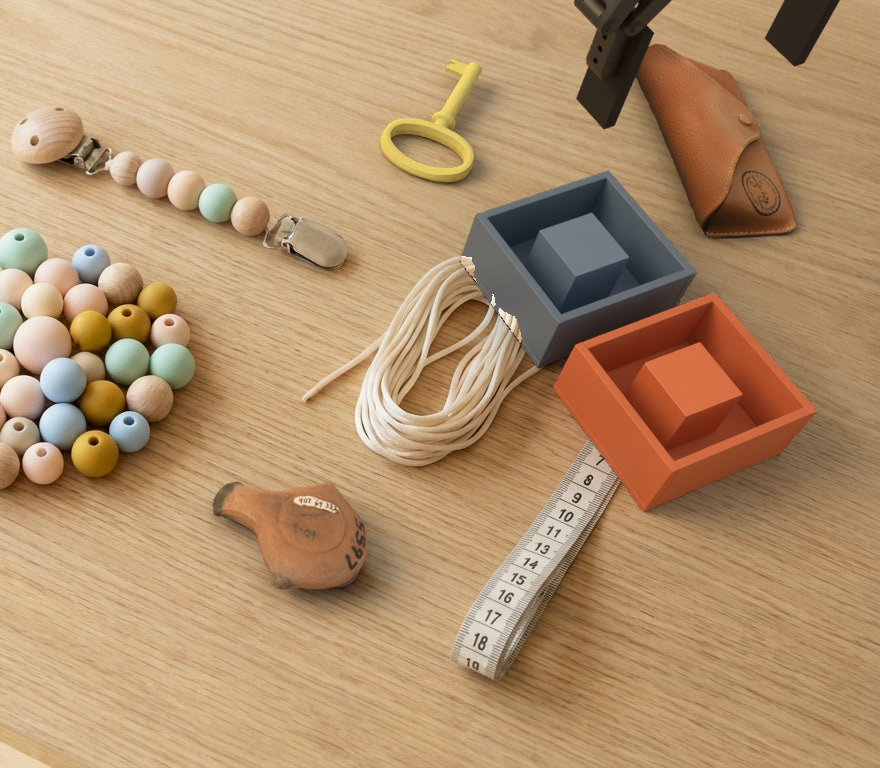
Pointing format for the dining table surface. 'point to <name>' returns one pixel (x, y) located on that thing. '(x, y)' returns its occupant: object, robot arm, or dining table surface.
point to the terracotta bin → (704, 459)
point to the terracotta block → (682, 395)
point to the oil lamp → (299, 532)
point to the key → (437, 130)
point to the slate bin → (516, 292)
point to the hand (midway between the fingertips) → (691, 81)
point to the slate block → (576, 262)
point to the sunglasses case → (715, 147)
